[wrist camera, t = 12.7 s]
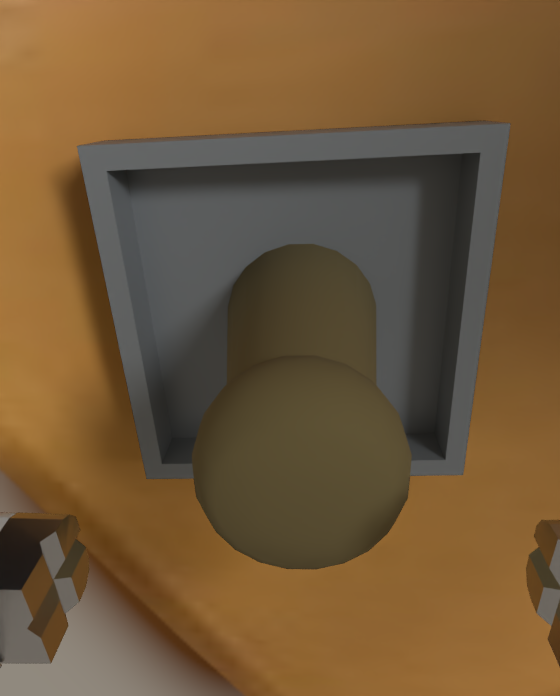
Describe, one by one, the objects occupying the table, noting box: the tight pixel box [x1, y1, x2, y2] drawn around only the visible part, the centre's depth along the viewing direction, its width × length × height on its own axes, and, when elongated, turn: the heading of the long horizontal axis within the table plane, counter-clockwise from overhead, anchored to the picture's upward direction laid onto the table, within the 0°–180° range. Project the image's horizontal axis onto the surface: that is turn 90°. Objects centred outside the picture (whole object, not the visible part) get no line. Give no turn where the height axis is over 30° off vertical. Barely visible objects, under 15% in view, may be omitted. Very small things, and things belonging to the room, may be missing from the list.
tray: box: [77, 121, 510, 479], centre depth 20 cm, size 14×14×2 cm
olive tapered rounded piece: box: [192, 244, 412, 569], centre depth 16 cm, size 6×6×11 cm
